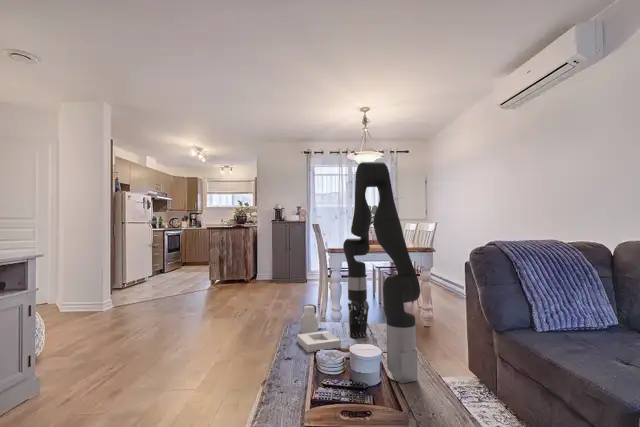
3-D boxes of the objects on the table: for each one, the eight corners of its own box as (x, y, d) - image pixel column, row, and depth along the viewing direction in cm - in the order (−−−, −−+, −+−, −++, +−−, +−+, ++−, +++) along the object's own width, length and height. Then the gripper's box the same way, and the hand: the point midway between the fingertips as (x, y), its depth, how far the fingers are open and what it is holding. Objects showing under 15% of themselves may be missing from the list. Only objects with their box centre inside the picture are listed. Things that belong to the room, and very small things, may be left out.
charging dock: (340, 347, 149) (340, 340, 150) (307, 352, 144) (307, 344, 145) (327, 337, 163) (327, 330, 163) (296, 341, 158) (296, 334, 158)
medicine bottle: (303, 328, 176) (303, 303, 177) (318, 329, 175) (318, 303, 176) (300, 333, 169) (300, 306, 170) (316, 333, 168) (316, 307, 169)
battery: (351, 340, 146) (351, 310, 146) (348, 337, 149) (348, 308, 150) (368, 338, 147) (367, 309, 148) (365, 336, 151) (364, 307, 152)
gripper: (374, 290, 144) (375, 334, 143) (357, 284, 157) (358, 325, 157) (356, 291, 141) (357, 337, 141) (341, 286, 155) (342, 327, 154)
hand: (358, 330), depth 149 cm, fingers closed on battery, 4 cm apart
